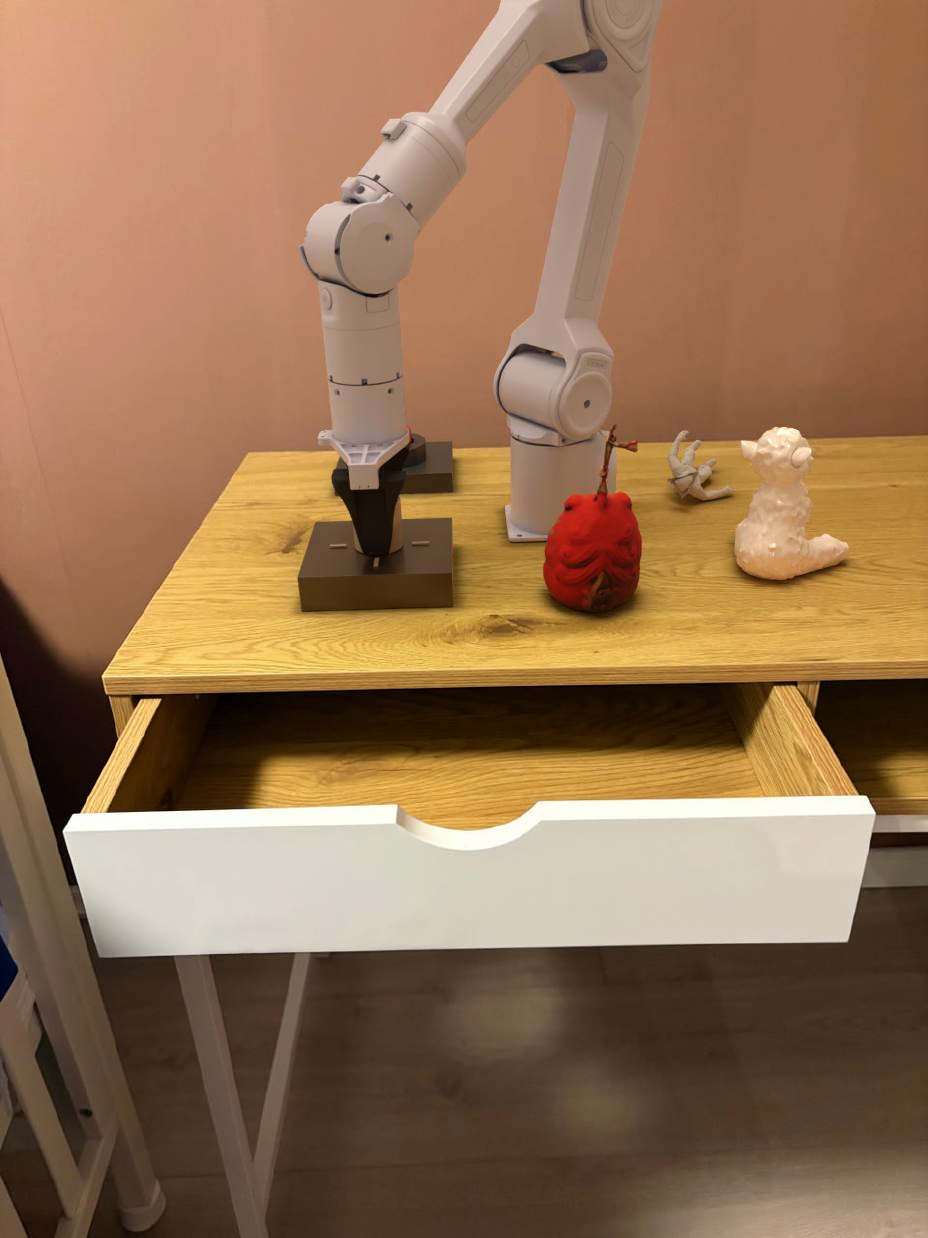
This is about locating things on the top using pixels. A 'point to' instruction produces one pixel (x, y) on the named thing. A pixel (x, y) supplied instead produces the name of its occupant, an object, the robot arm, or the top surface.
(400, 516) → the dial knob
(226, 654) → the top surface
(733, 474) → the top surface
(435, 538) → the dial panel
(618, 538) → the red clay folk toy
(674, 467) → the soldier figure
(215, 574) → the top surface
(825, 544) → the sitting furry creature
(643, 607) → the top surface
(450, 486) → the button box
